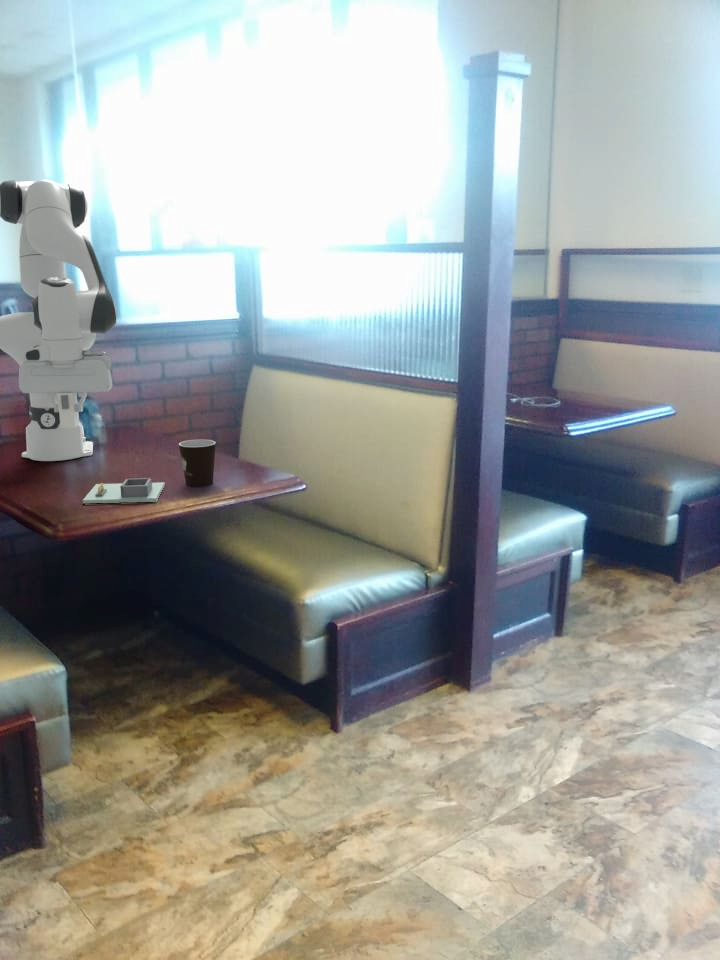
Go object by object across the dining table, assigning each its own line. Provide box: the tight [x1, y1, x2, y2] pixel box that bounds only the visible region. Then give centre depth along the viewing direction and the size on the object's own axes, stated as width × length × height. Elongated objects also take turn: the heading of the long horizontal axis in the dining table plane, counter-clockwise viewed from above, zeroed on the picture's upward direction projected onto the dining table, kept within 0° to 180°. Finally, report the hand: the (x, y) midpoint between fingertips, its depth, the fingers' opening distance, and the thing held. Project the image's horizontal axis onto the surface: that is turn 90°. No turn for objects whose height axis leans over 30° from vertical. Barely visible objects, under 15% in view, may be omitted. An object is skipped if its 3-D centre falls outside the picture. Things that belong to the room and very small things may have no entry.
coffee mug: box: [178, 439, 217, 488], centre depth 210 cm, size 12×9×10 cm
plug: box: [57, 392, 80, 428], centre depth 200 cm, size 5×3×8 cm, turn 5°
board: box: [82, 477, 166, 504], centre depth 200 cm, size 14×16×4 cm
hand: (68, 411), depth 201 cm, fingers closed on plug, 3 cm apart
